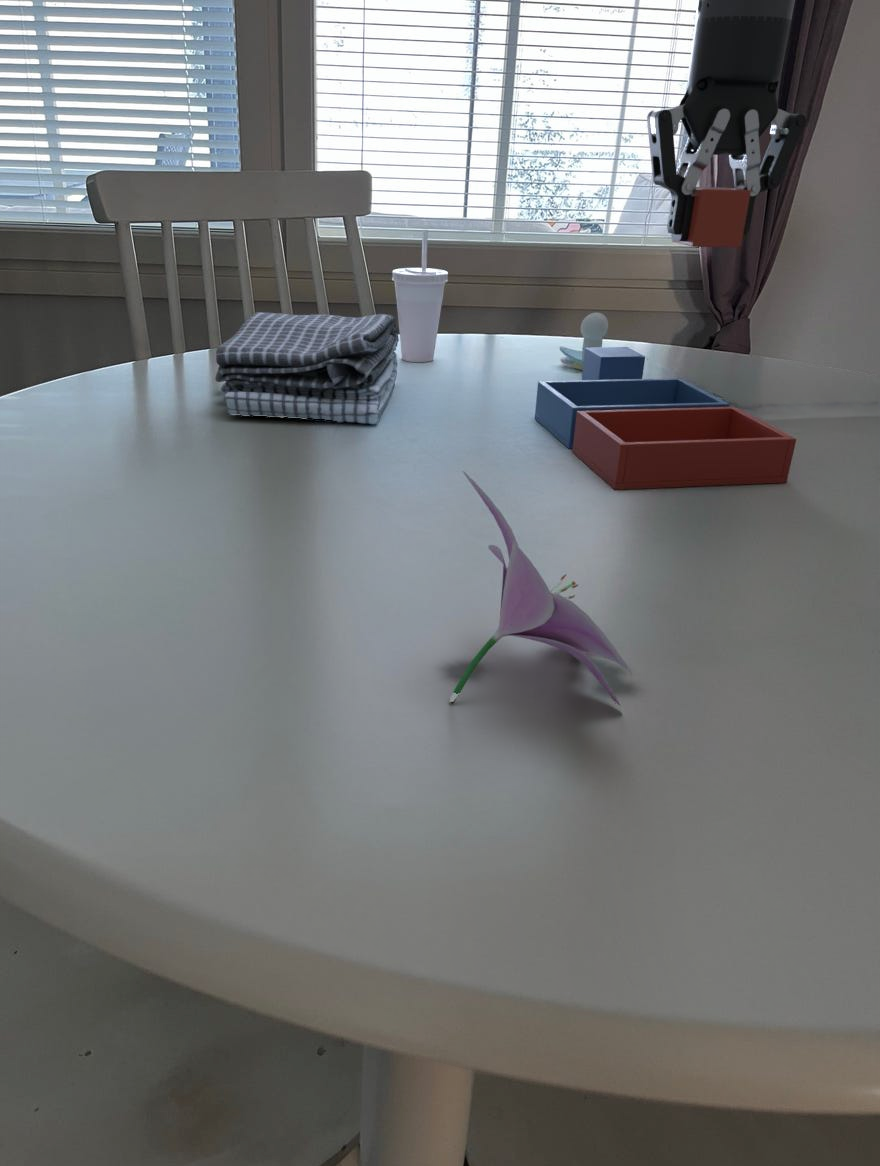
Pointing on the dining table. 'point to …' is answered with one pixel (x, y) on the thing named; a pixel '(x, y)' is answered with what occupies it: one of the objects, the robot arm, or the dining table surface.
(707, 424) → the red bin
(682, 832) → the dining table surface
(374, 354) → the towel
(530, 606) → the lily
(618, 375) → the blue block
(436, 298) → the smoothie
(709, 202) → the red block
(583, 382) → the blue bin
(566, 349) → the pacifier
